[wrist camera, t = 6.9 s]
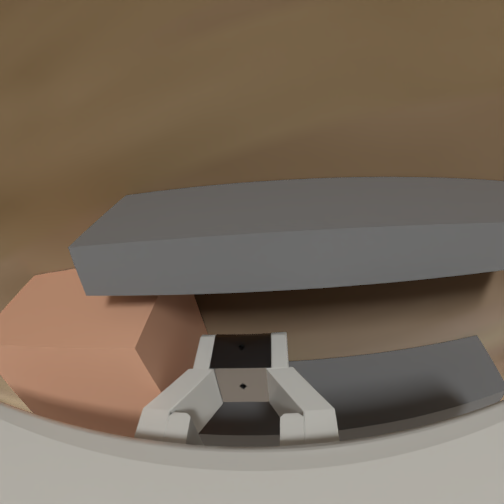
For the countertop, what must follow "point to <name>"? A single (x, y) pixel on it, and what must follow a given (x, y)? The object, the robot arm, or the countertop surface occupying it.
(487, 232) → the channel
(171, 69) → the countertop surface
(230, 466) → the robot arm
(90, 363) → the block
